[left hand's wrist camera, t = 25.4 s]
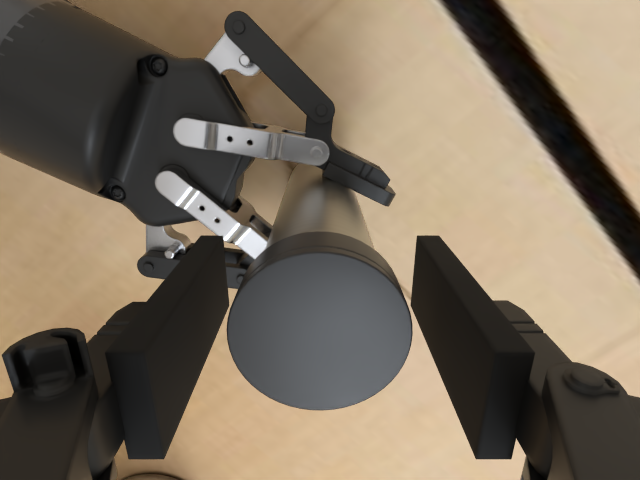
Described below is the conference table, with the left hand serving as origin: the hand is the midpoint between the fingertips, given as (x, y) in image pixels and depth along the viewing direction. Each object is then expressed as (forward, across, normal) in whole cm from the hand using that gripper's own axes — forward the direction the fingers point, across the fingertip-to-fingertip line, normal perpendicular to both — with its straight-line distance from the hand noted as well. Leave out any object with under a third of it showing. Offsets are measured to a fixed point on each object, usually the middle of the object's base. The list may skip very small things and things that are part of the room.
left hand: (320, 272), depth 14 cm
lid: (-4, 0, 0) cm, 4 cm away
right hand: (+7, -2, +1) cm, 8 cm away
